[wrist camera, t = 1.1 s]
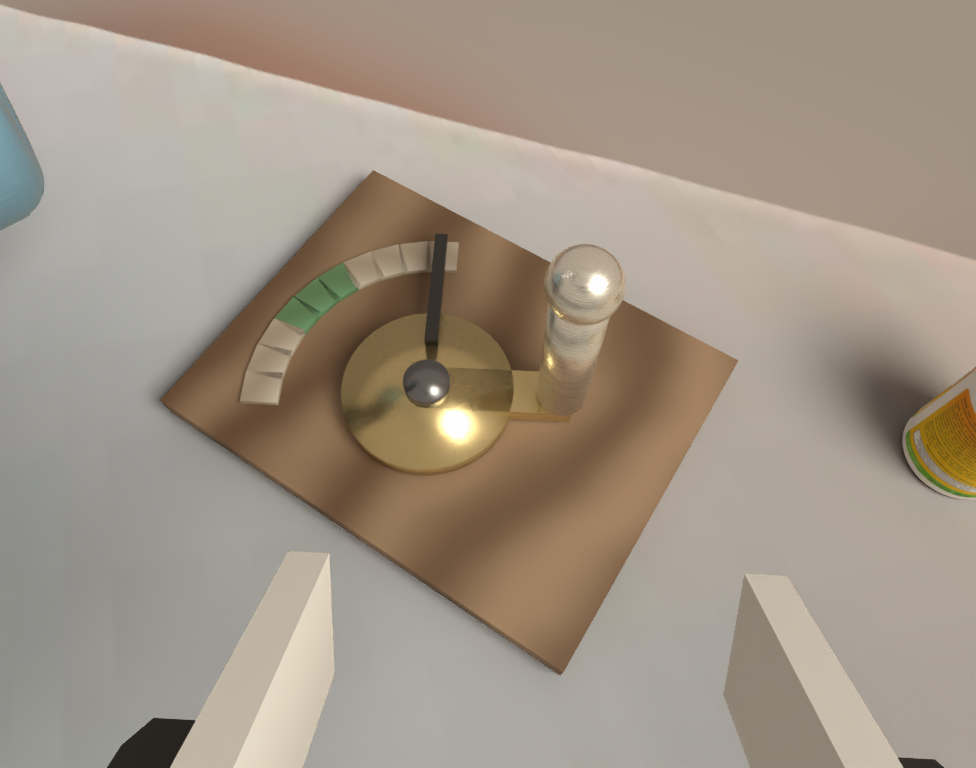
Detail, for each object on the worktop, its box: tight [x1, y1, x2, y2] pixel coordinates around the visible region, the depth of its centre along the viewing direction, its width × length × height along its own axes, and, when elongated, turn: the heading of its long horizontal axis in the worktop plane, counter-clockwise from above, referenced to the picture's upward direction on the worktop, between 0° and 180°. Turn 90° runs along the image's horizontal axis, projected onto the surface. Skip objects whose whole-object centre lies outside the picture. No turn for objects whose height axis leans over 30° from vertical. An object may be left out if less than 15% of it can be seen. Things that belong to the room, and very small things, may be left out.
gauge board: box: [160, 170, 738, 675], centre depth 40 cm, size 25×19×2 cm
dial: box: [341, 234, 626, 475], centre depth 33 cm, size 13×13×13 cm
